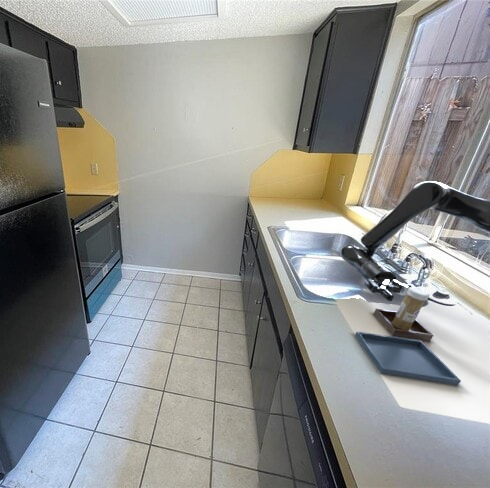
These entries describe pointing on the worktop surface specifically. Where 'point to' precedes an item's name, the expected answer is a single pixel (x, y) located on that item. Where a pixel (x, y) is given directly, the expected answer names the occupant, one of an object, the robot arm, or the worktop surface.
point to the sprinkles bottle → (410, 308)
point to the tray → (405, 358)
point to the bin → (415, 331)
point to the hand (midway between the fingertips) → (406, 300)
